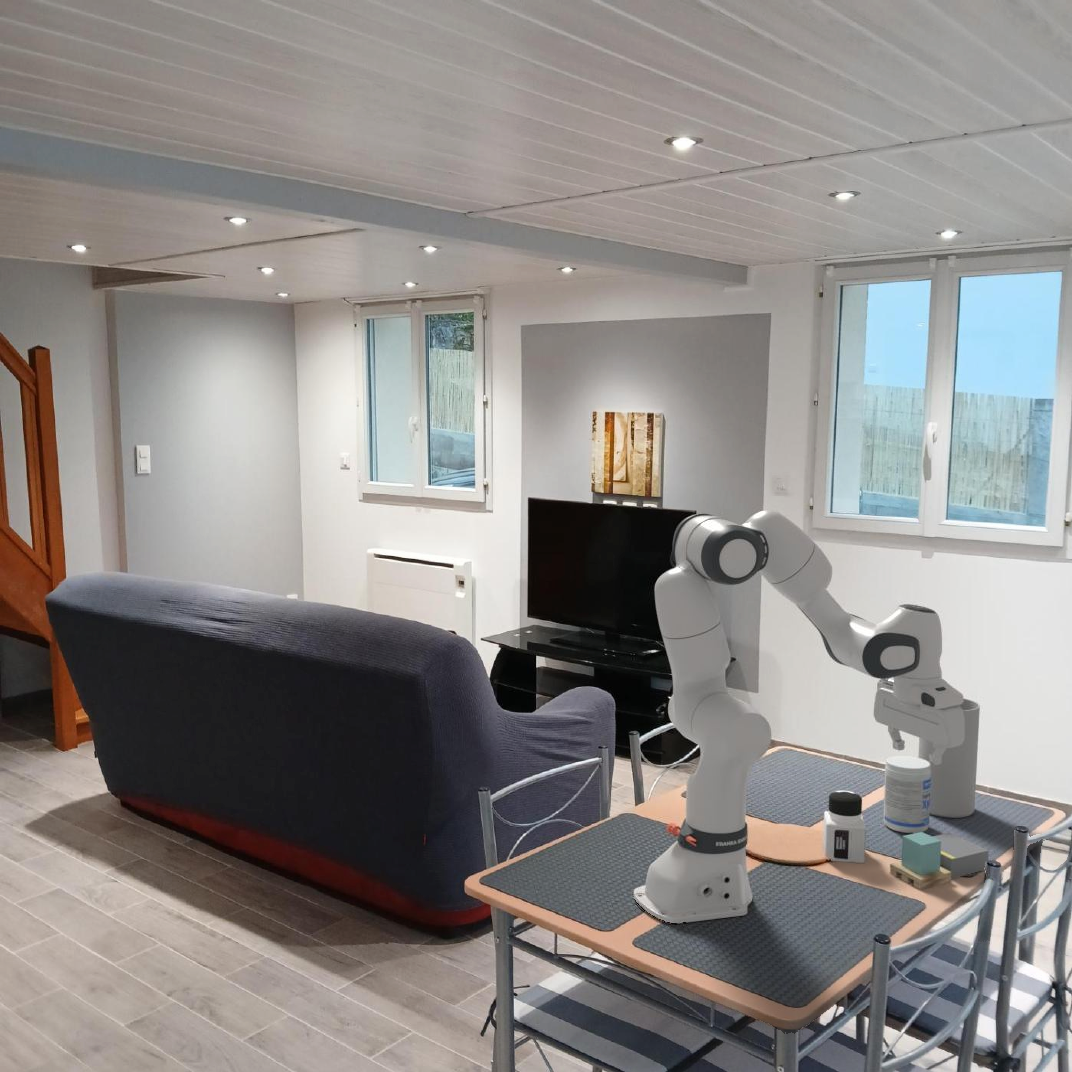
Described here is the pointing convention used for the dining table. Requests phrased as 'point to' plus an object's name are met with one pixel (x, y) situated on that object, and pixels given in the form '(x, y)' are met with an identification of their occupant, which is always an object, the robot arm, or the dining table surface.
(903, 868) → the pallet
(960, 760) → the cylinder vase
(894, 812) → the supplement tub
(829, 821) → the container
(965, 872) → the block
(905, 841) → the teal block
